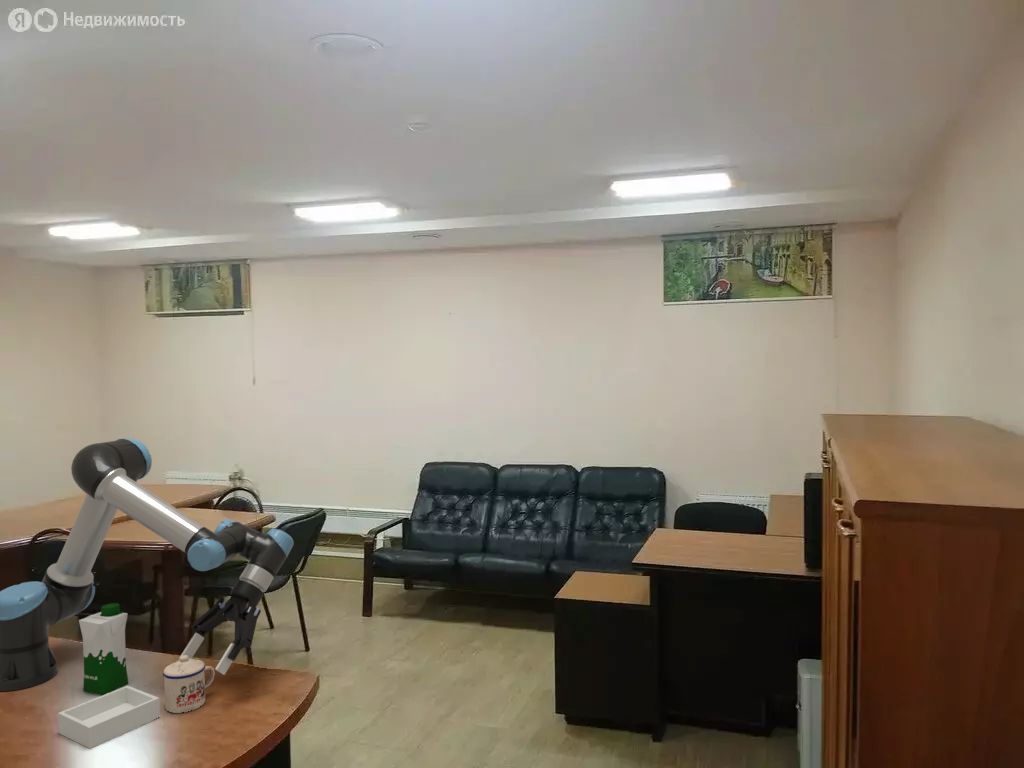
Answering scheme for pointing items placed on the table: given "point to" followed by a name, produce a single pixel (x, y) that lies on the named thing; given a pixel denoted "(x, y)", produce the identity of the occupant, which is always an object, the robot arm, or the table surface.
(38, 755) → the table surface
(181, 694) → the teacup with lid
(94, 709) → the white rectangular tray
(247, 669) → the table surface
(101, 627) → the milk carton
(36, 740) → the table surface
